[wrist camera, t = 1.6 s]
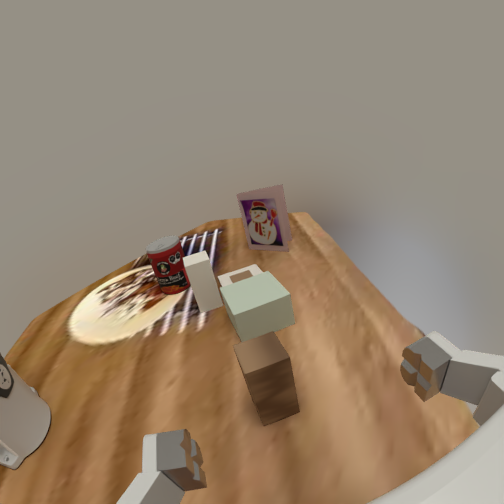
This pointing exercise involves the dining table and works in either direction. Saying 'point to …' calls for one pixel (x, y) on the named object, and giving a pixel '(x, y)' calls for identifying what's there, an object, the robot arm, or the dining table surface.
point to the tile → (239, 275)
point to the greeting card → (265, 218)
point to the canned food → (168, 264)
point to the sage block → (258, 306)
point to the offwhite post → (202, 281)
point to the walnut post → (268, 377)
